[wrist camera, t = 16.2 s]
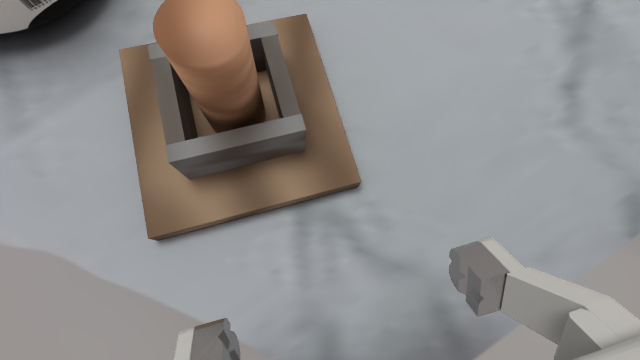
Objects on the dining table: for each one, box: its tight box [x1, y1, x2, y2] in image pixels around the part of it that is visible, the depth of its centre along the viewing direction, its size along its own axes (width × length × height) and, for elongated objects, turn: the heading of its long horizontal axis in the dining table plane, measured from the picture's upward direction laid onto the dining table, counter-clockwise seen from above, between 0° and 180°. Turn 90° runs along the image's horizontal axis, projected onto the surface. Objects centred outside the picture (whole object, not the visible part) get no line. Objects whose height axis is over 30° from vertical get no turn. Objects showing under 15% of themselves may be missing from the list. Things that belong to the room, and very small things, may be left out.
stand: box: [119, 14, 361, 240], centre depth 25 cm, size 16×16×6 cm
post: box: [153, 0, 265, 133], centre depth 21 cm, size 4×4×10 cm
